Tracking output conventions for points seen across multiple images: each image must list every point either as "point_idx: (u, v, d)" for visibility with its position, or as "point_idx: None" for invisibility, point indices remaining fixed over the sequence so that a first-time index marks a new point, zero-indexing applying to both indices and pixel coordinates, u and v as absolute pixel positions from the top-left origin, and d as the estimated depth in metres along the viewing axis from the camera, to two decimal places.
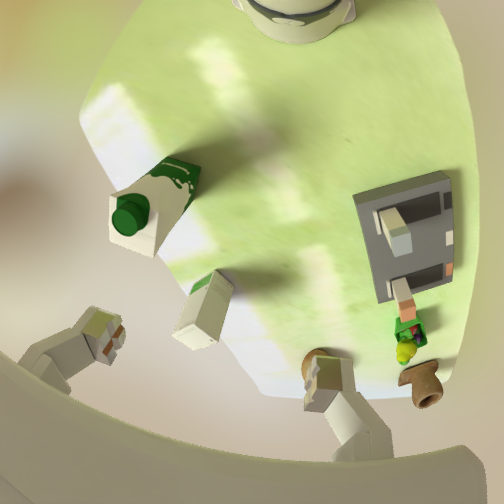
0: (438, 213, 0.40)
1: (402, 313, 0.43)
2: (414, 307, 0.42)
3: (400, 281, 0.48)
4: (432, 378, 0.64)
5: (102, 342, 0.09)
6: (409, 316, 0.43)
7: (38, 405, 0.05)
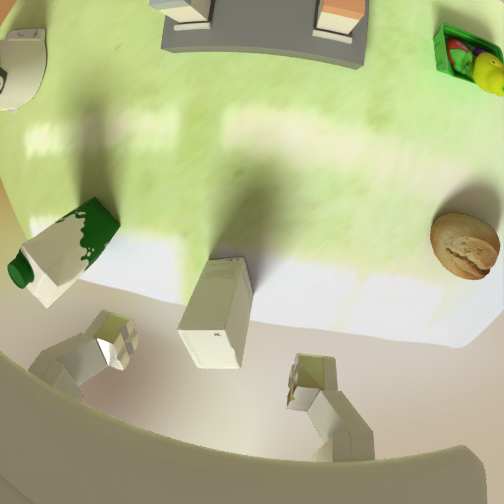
0: None
1: (335, 4, 0.15)
2: None
3: (318, 13, 0.20)
4: None
5: (117, 348, 0.09)
6: None
7: (38, 405, 0.05)
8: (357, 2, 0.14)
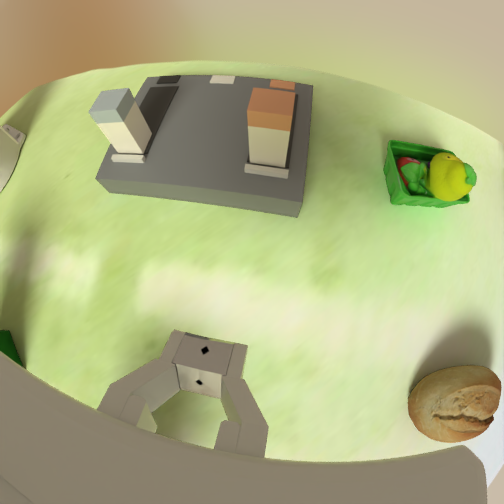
0: (175, 88, 0.31)
1: (259, 109, 0.20)
2: (256, 89, 0.20)
3: None
4: None
5: (199, 372, 0.09)
6: (279, 100, 0.20)
7: (38, 405, 0.05)
8: (285, 105, 0.20)
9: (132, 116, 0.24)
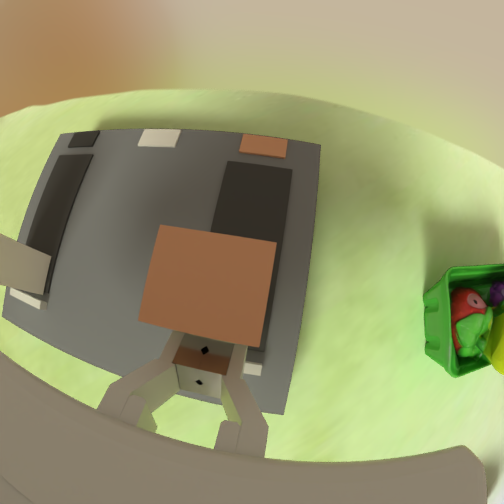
0: (88, 160, 0.19)
1: (169, 318, 0.07)
2: (166, 234, 0.08)
3: None
4: None
5: (199, 372, 0.09)
6: (227, 280, 0.08)
7: (38, 405, 0.05)
8: (241, 301, 0.08)
9: None
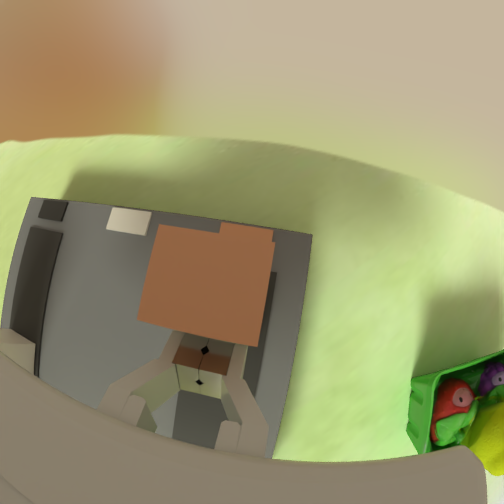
0: (58, 239, 0.17)
1: (168, 317, 0.07)
2: (165, 233, 0.08)
3: None
4: None
5: (199, 371, 0.09)
6: (226, 280, 0.08)
7: (38, 405, 0.05)
8: (239, 301, 0.08)
9: None
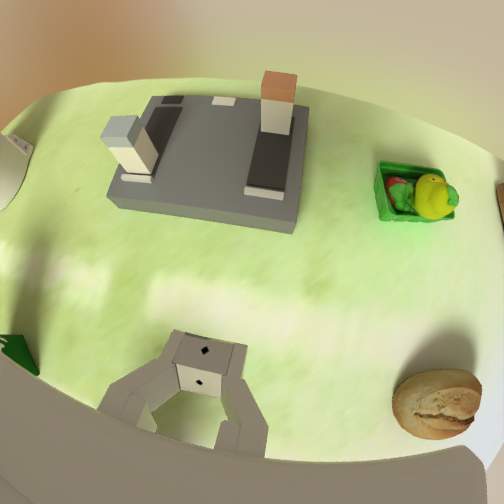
0: (179, 109, 0.35)
1: (270, 85, 0.25)
2: (267, 72, 0.26)
3: None
4: None
5: (199, 372, 0.09)
6: (285, 79, 0.25)
7: (38, 405, 0.05)
8: (289, 83, 0.25)
9: (141, 141, 0.27)
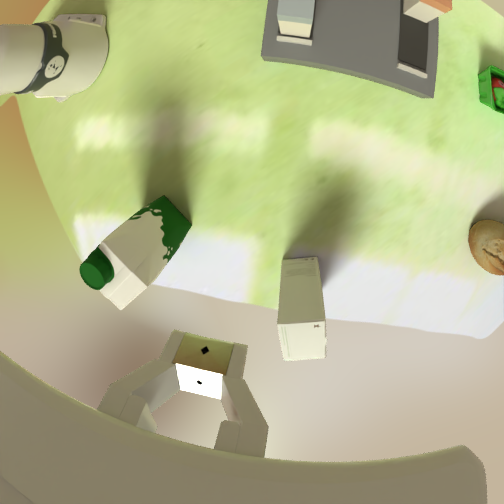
0: None
1: None
2: None
3: (405, 2, 0.19)
4: None
5: (199, 372, 0.09)
6: None
7: (38, 405, 0.05)
8: (447, 0, 0.13)
9: None
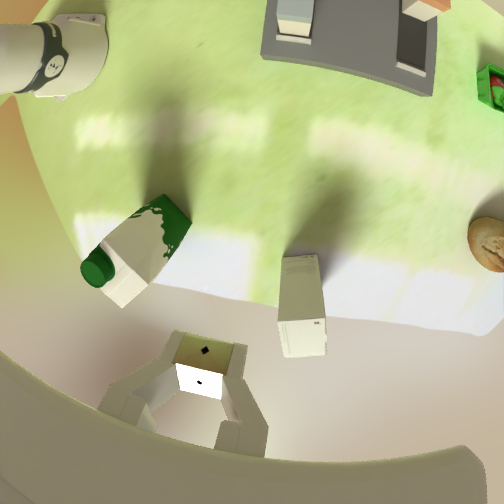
0: None
1: None
2: None
3: (403, 1, 0.19)
4: None
5: (199, 372, 0.09)
6: None
7: (38, 405, 0.05)
8: None
9: None
